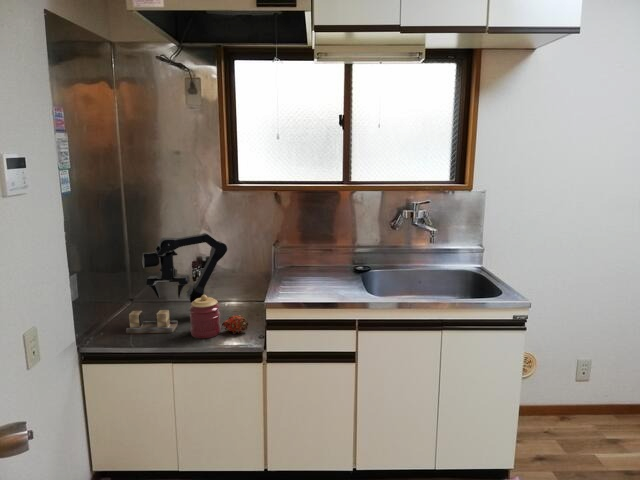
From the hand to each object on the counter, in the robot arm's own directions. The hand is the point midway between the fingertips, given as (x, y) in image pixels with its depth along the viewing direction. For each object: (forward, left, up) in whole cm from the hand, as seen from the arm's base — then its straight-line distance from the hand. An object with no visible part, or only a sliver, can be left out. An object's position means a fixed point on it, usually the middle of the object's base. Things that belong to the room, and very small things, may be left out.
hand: (169, 298), depth 210 cm
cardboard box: (+1, +8, -11) cm, 13 cm away
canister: (-19, +14, -12) cm, 27 cm away
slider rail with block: (+6, +8, -12) cm, 16 cm away
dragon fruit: (-32, +14, -12) cm, 37 cm away
